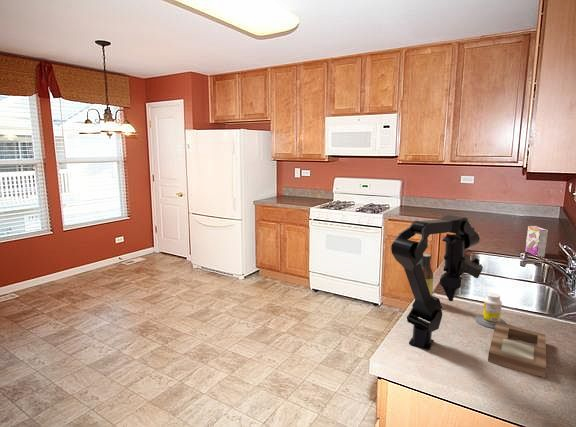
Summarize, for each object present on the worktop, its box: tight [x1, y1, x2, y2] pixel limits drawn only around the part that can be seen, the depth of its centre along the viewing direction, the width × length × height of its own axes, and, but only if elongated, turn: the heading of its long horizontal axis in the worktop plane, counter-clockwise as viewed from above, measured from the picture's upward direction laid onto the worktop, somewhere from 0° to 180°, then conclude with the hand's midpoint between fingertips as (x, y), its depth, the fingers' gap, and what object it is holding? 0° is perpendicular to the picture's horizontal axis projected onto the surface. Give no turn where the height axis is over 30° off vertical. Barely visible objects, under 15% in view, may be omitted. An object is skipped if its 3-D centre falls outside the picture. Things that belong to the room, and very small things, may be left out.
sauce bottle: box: [421, 253, 434, 296], centre depth 148 cm, size 7×6×20 cm
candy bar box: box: [524, 225, 549, 258], centre depth 212 cm, size 11×5×16 cm, turn 179°
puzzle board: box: [487, 323, 547, 379], centre depth 112 cm, size 22×14×4 cm, turn 145°
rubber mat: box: [474, 314, 508, 330], centre depth 132 cm, size 10×10×1 cm
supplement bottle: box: [482, 292, 503, 324], centre depth 130 cm, size 6×6×10 cm
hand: (452, 295), depth 124 cm, fingers open, 9 cm apart
